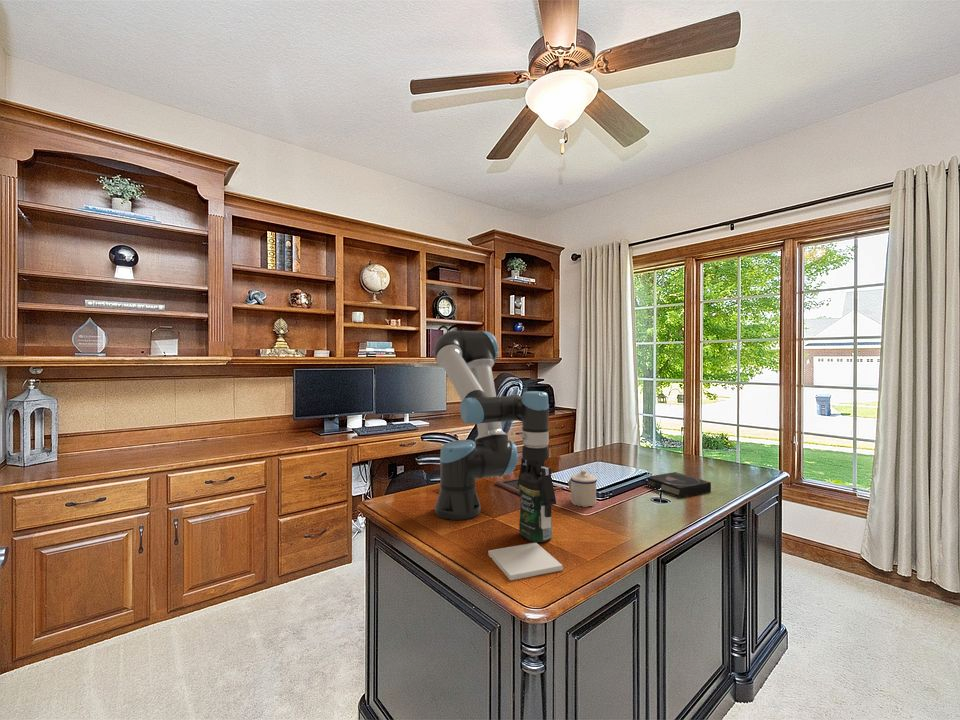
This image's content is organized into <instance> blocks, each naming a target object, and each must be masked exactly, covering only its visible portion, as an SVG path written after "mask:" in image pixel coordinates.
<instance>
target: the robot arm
mask: <svg viewBox="0 0 960 720" xmlns="http://www.w3.org/2000/svg"><path fill="white" fill-rule="evenodd" d="M498 351H499V346H498V341H497V339H496V336H495V335H494V334H493V333H491V332H490V331H485V330H484V331H483V330H450V331H447V332H444V333H443V334H442V335H440V337H439V338H438V339H437V340H436V342H435V345H434V349H433V354H434V359H435V361H436V363H437V364H438V366H439V367H440V368H442V369H443V370H444V372H445V373H446V375H447V377H448V379H449V381H450V383H451V384H452V386H453V388H454V390H455V391H456V393H457V395H458V398H460V405H459V414H460V417H461V420H462V421H463V422H464V423H465V424H475V425H476V426H477V427H476V428H477V434H478V435H477V436H476V437H475V439H474V440H472V439H458V440H453V441H449V442H447V443H445V444H444V445H442V446H441V447H440V455H439V456H440V457H439V465H440V467H439V469H440V471H439V472H440V474H439V475H440V479H439V480H440V482H439V483H440V485H439V487H440V488H439V493H438V496H437V499H436V502H435V506H434V513H436V514H435V515H436V516H437V517H439V518H441V519H444V520H452V521H462V520H464V521H465V520H468V519H472V518H475V517H477V516H478V515H480V513H481V502H480V500H479V497H478V493H477V490H476V480H478V479H485V478H494V477H495V478H496V477H503V476H508V475H510V474H512V473H513V472H514V471H515V469H516V466H517V464H518V463H517V462H518V457H519V455H518V448H517V445H516V444H515V442H514V441H513V440H510V439H509V437H508V436H509V435H508V434H507V433H506V432H505V431H503V427H502V422H514V421H518V422H522V426H521V427H522V429H521V430H522V435H521V439H522V444H523V446H522V451H521V453H522V458H521V460H520V461H521V462H520V468H519V469H520V470H519V475H518V477H519V478H518V477H517V478H518V483H517V485H518V487H519V481H520V475H521V474H522V473H523V472H527V473H528V472H530V473H531V474H533V477H534V479H536V480H537V479H538V478H537V477H538V476H541V477H542V484H539V489H540V495H541V498H542V502H543V503H542V504H541V528H542V529H546V528H551V519H552V506H554V505H555V506H556V505H557V499H556V492H554V488H553V483H552V478H551V476H552V468H551V467H550V466H549V467H546V466H545V462H546V461H548V460H549V455H550V454H549V453H550V451H549V446H548V445H549V443H550V442H549V439H550V437H549V435H550V434H549V432H550V430H549V427H550V425H549V423H550V421H549V419H550V417H549V414H550V412H549V411H550V404H549V395H548V393H547V392H545V391H538V390H533V391H532V390H530V391H529V390H527V391H524V392H523V393H522V395H520V394H519V395H518V394H509V395H505V396H497V393H496V387H495V381H494V375H493V370H492V369H493V367H494V365H495V361H496V360H497V359H498V356H499V352H498Z"/></svg>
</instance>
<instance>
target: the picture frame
mask: <svg viewBox="0 0 960 720" xmlns="http://www.w3.org/2000/svg"><path fill="white" fill-rule="evenodd" d="M518 478H519V476H518V477H514V478H508V479H503V480H498V481H497V480H496V481H495V485H496V486H497V487H500V488H502V489H504V490H506V491H509V492H510V493H511V492H512V493H514V494H515V493H516V495H517V494H518V495H517V496H519V497H521V495H520V488H519V487H518V485H517V483H518ZM562 488H563V487H554V491H556V490H560V489H562Z"/></svg>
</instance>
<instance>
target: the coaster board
mask: <svg viewBox="0 0 960 720" xmlns="http://www.w3.org/2000/svg"><path fill="white" fill-rule="evenodd" d="M487 555H488V556H489V558H490V559H491V558H492V559H491V561H493V562H494V563H495V565H497V567H498V568H499V570H501V571H502V572H503V573H502V574H504V575H505V576H506V577H507V578H508V580H509V581H515V580H520V579H526V578H530V577H531V578H532V577H535V576H541V575H544V574H550V573H555V572H561V571H563V569H564V567H563V564H562V563H560V561H558V560H557V559H556V558H555V557H554V556H553V555H551V554H550V553H549V552H548V551H546V549H544V548H543V547H542V546H541V545H540V544H538V542H530V543H524V544H519V545H512V546H507V547H501V548H495V549H490V550H489V549H488V554H487Z"/></svg>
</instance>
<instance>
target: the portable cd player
mask: <svg viewBox="0 0 960 720" xmlns="http://www.w3.org/2000/svg"><path fill="white" fill-rule="evenodd" d="M649 476H650V477H648V476H647V477H648V481H647V482H646V485H648V486H650V487H649V488H651V487H653V488H652V489H654V488H656V489H660V488H661V487H662V491H663V492H662V491H661V492H662V493H665V494H668V495H671V496H673V497H676V498H678V499H679V498H686V497H691V496H696V495H700V494H706V492H707V493H711V492H712V481H711V482H710V481H706V480H704V479H701V478H696V477H694V476H690V475H687V474H683V473H680V472H675V471H673V472H668V473H661V474H654V475H649ZM646 485H645V486H646ZM648 486H647V487H648ZM656 489H655V490H656Z"/></svg>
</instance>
